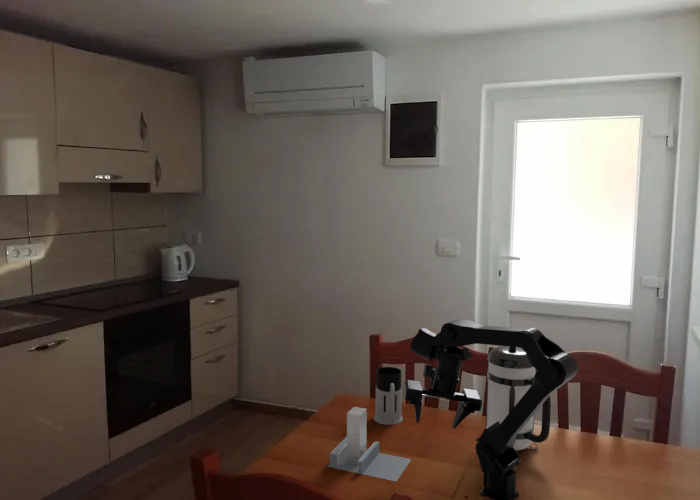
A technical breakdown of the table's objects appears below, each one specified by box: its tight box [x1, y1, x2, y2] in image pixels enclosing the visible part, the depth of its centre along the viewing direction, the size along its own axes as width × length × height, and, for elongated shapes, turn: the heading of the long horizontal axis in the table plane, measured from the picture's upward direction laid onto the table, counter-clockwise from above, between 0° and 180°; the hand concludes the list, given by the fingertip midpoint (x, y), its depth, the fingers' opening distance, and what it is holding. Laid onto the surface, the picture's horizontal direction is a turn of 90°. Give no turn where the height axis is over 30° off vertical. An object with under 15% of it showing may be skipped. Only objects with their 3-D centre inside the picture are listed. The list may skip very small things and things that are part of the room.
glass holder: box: [373, 366, 403, 426], centre depth 171 cm, size 9×14×15 cm, turn 4°
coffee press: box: [485, 346, 552, 451], centre depth 154 cm, size 17×16×30 cm
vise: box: [327, 436, 412, 483], centre depth 145 cm, size 18×12×4 cm, turn 67°
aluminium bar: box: [346, 406, 368, 465], centre depth 146 cm, size 4×4×13 cm
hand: (435, 425), depth 143 cm, fingers open, 9 cm apart
